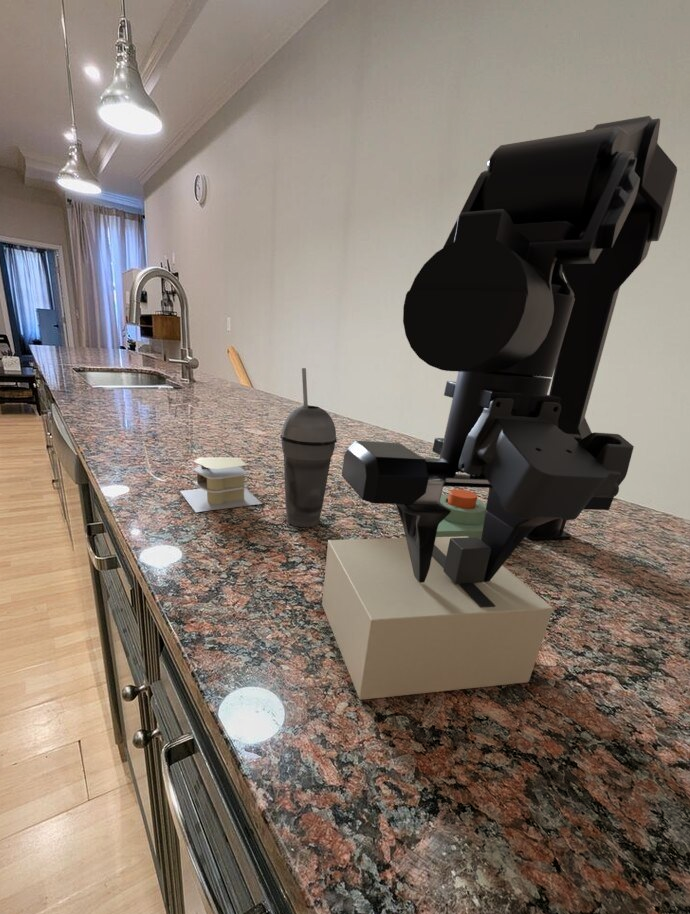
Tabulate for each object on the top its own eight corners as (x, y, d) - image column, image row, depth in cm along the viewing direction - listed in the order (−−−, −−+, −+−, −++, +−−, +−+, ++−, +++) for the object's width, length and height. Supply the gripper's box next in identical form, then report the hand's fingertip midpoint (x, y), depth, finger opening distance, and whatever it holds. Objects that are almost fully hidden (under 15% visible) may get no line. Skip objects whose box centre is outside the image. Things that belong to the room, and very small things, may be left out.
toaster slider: (469, 570, 36) (477, 536, 35) (483, 583, 34) (492, 548, 33) (442, 571, 36) (449, 537, 35) (454, 584, 34) (462, 549, 33)
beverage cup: (324, 535, 58) (339, 373, 50) (270, 527, 59) (276, 368, 51) (332, 514, 64) (346, 369, 56) (283, 507, 65) (291, 364, 58)
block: (475, 514, 68) (481, 489, 66) (516, 544, 59) (523, 516, 57) (401, 515, 65) (405, 490, 64) (432, 547, 56) (438, 518, 55)
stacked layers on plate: (241, 484, 73) (241, 452, 71) (262, 504, 66) (263, 468, 64) (179, 491, 69) (178, 456, 66) (195, 512, 61) (194, 474, 59)
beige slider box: (451, 594, 46) (465, 532, 44) (529, 682, 35) (554, 606, 32) (320, 601, 43) (326, 536, 41) (359, 700, 32) (371, 618, 29)
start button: (466, 500, 63) (468, 488, 62) (480, 510, 60) (483, 498, 59) (442, 500, 62) (445, 489, 61) (455, 510, 59) (458, 498, 58)
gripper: (427, 371, 20) (373, 653, 26) (745, 402, 24) (637, 640, 30) (355, 356, 30) (327, 561, 36) (587, 380, 34) (529, 561, 40)
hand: (451, 579), depth 35 cm, fingers open, 5 cm apart
